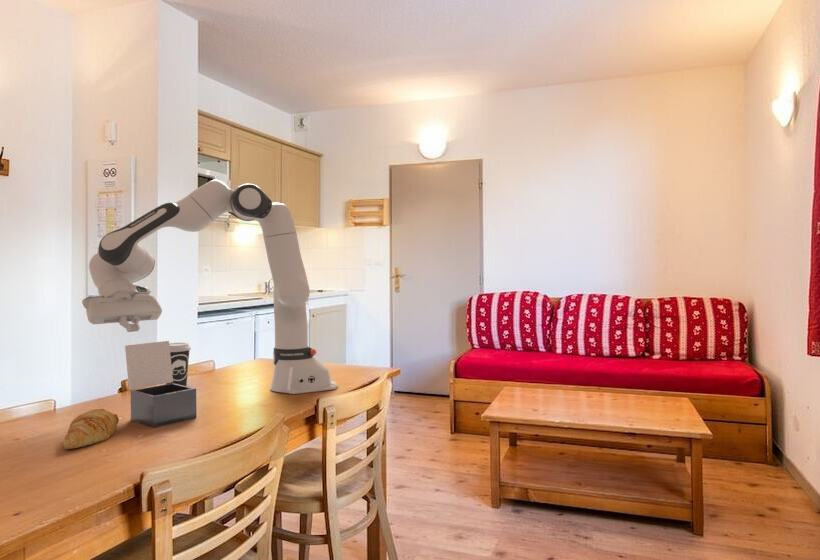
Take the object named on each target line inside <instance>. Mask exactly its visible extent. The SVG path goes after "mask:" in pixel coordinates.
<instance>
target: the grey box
mask: <svg viewBox="0 0 820 560" xmlns="http://www.w3.org/2000/svg"><path fill="white" fill-rule="evenodd" d="M196 418H197V388H195V387H192V386H188V385H187V386H183V385H179V384H175V383H171V384H166V383H165V384H159V385H154V386H148V387H142V388H137V389H131V390H130V420H131V421H132V420H133V422H135V421H136V423H138V422H139V424H141V423H142V424H141V425H144V424H145V426H147V425H148V427H151V428H158V426H159V427H161V426H162V427H163V426H167V425H171V424H176V423H178V422H179V423H180V422H182V421H187V420H191V419H196Z"/></svg>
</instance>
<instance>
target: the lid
mask: <svg viewBox="0 0 820 560" xmlns="http://www.w3.org/2000/svg"><path fill="white" fill-rule="evenodd" d="M169 343H170V340H165V341H164V340H163V341H154V342H146V343H136V344H128V345H125V346H124V351H125V360H126V371H127V380H128V390H129V391H131V390H137V389H143V388H148V387H154V386H160V385H165V384H166V383H171V382H173V376H172V366H171V356H170V346H169Z"/></svg>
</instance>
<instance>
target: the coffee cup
mask: <svg viewBox="0 0 820 560" xmlns="http://www.w3.org/2000/svg"><path fill="white" fill-rule="evenodd" d="M169 346H170V356H171V366H172V376H173V382H171V383H175V384H179V385H183V386H188V371H189V370H188V369H189V358H190V351H191V350H192V349H191V346H190V345H189V342H169ZM171 383H165V384H171Z"/></svg>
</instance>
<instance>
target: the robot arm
mask: <svg viewBox="0 0 820 560" xmlns="http://www.w3.org/2000/svg"><path fill="white" fill-rule="evenodd" d="M224 213H229V214H230V215H232V216H234V217H235V218H237V219H239V220H241V221H242V222H243V221H244V222H252V221H257V222H258V223H259V225H260V228H261V230H262V236H263V240H264V246H265V251H266V256H267V261H268V265H269V269H270V273H271V277H272V281H273V291H272V292H273V293H272V294H273V314H274V315H273V317H274V347H273V351H272V352H273V353H272V357H273V364H274V367H273V375H272V381H271V385H270V388H269V389H270V391H272V392H276V393H286V394H292V395H295V394H296V395H297V394H306V393H314V392H315V393H316V392H322V391H330V390H332V391H333V390H335V389H337V388H338V385H337V384H338V383H337V382H336V381H335V380H332V379H331V374H330V371H329V368H327V366H325V365H324V364H323V363H321V362H320V361H319V360H318V359H316V358H315V357H314V356H316V354H317V350H316V349H315V348H312V347H310V346H309V342H308V341H309V339H308V337H309V335H308V334H309V333H308V331H309V330H308V327H309V323H308V317H307V316H308V315H307V304H306V303H307V301H308V300H309V298H310V286H309V282H308V277H307V273H306V270H305V266H304V262H303V258H302V254H301V248H300V244H299V239H298V233H297V230H296V229H297V228H296V225H295V222H294V218H293V216H292V213H291V211H290V208H289V206H287V204H284V203H280V202H273V201H272V199H270V197H269V196H268V195H267V193H265V191H264V190H263V189H262V188H261V187H260V186H258V185H256V184H254V183H244V184H241V185H239V186H238V187H236V188H235V189H232V188H230V187H229V186H228V185H227V184H226V183H225V182H223V181H221V180H218V179H212V180H210V181H208V182H205V183H204V184H202V185H200V186H199V187H198V188H196V189H194V190H193V191H192V192H190V193H189V194H188V195H187V196H185V197H184V198H182V199H180V200H178V201H175V202H166V203H163V204H161V205H159V206H156V207H155V208H153V209H151V210H150V211H148V212H146V213H145V214H143V215H142V216H140V217H138V218H136V219H134V220H133V221H131V222H130V223H127V224H126V225H125V226H122V227H120V228H118V229H115V230H112V231H111V232H108V233H106V234H105V235H104V236H102V238H101V240H100V242H99V244H98V248H97V249H98V251H97V253H95V254H94V255H93V256H92V257H91V258H90V261H89V265H88V269H89V274H90V276H91V279H92V282H93V284H94V285H95V287H96V288H97V293H98V296H96V295H95V296H86V297H85V298H83V299H82V301H81V302H82V303H81V304H82V305H83V308H84V309H85V312H86V316H87V320H88V322H89V323H90V324H92V325H102V324H103V325H104V324H116V323H117V324H119V326H122V327H123V328H124V329H125V330H126V332H127V333H131V332H133V333H134V332H139V331H140V329H141V328H140V325H139V323H140V322H141V321H142V322H143V321H144V322H145V321H156V320H158V319H159V318H160V316H161V315H162V312H163V309H162V307H161V304H160V302H158V300H157V298H156V297H155V296H153V295H152V294H151V289H150V288H149V287H147V286H141V285H137V284H134V283H136V282H138V281H141V280H143V279H144V278H146V277H148V276H149V275H150V274H151V273H152V272H153V271H154V268H155V262H156V260H155V258H154V256H153V255H152V254H151V253H150V252H149V251H148V250H146V248H144V247H143V246H141V245H140V244H139V243H140V242H142V240H144V239H146V238H148V237H150V236H151V235H152V234H154V233H156V232H157V231H159V230H161V229H163V228H169V227H170V228H174V229H175V228H176V229H179V230H182V231H185V232H191V233H195V232H200V231H202V230H204V229H205V228H207V227H208V226H209V225H210V224H211V223H213V222H214V221H215V220H216V219H218V218H219V217H220V216H221V215H224ZM129 322H131V323H129Z"/></svg>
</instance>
